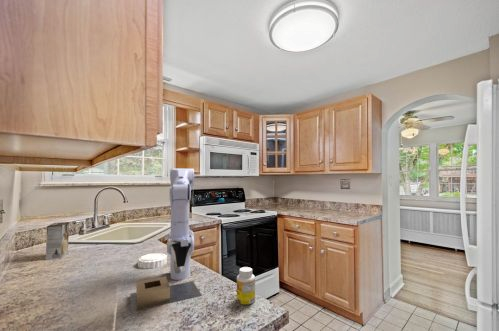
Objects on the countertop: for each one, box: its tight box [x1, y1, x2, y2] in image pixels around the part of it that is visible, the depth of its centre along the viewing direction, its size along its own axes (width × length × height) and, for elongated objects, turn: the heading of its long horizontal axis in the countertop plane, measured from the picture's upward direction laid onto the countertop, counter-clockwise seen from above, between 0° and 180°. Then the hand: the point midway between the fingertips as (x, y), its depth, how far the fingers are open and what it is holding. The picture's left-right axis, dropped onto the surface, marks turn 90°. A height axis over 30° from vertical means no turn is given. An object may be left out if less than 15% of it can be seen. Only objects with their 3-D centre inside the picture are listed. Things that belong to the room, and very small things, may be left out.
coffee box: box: [45, 221, 70, 261], centre depth 117 cm, size 9×6×16 cm
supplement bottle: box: [236, 266, 256, 306], centre depth 71 cm, size 6×6×10 cm
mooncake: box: [137, 252, 168, 270], centre depth 105 cm, size 12×12×4 cm
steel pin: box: [168, 240, 185, 273], centre depth 75 cm, size 4×4×10 cm
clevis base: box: [130, 275, 203, 313], centre depth 75 cm, size 12×20×5 cm, turn 117°
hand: (179, 264), depth 76 cm, fingers closed on steel pin, 4 cm apart
